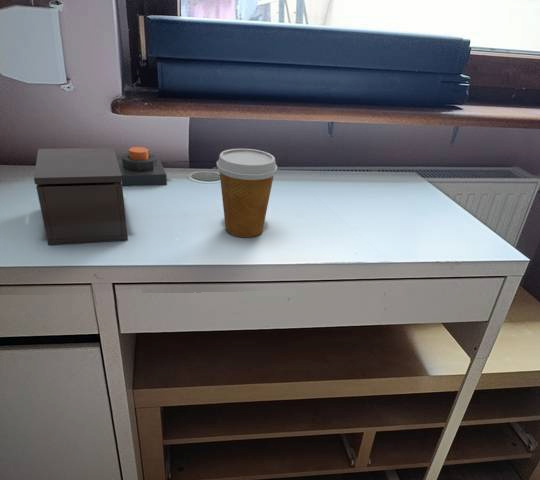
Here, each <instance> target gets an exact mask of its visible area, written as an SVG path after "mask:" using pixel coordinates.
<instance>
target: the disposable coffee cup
mask: <svg viewBox="0 0 540 480" xmlns="http://www.w3.org/2000/svg"><path fill="white" fill-rule="evenodd" d="M218 156H219V157H218V160H216V167H217V169H218V172H219V179H220V188H221V189H220V190H221V197H222V208H223V217H224V218H223V219H224V227H225V232H226V233H228V234H229V235H232V236H234V237H239V238H254V237H257V236H260V235H262V233H263V232H264V225H265V221H266V215H267V210H268V207H269V200H270V196H271V192H272V186H273V185H272V184H273V182H274V176H275V175H276V172H277V170H278V165H277V164H276V158H275V156H274V155H272V154H271V153H269V152H267V151H263V150H259V149H253V148H229V149H226V150H223V151H221V152H220V154H219V155H218Z"/></svg>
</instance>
